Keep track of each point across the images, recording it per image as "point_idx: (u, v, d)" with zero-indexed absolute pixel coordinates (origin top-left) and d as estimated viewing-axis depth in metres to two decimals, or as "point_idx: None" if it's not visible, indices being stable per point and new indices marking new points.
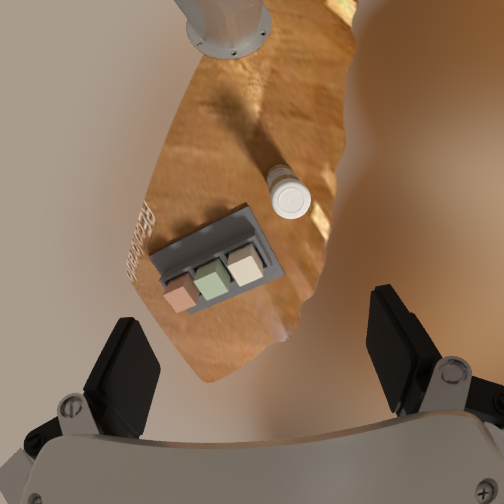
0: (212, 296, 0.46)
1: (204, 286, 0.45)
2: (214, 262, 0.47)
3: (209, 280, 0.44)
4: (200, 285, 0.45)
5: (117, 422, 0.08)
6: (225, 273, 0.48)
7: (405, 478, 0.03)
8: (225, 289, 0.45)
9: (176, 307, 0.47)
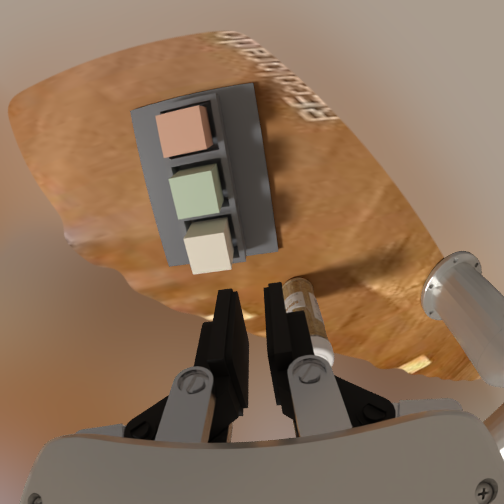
0: (174, 191, 0.26)
1: (196, 185, 0.26)
2: (221, 195, 0.30)
3: (205, 197, 0.26)
4: (199, 179, 0.25)
5: (234, 394, 0.09)
6: None
7: (405, 478, 0.03)
8: (183, 216, 0.27)
9: (166, 119, 0.23)
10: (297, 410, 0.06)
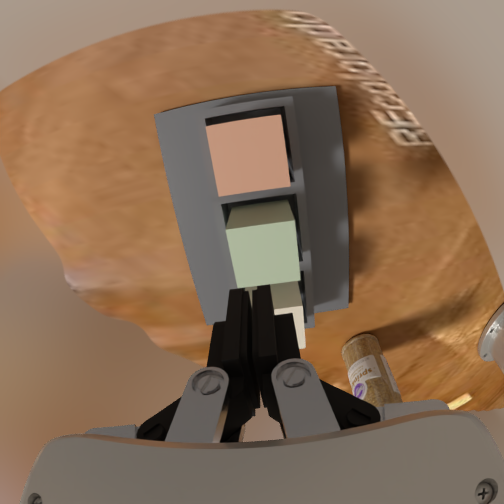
0: (234, 249, 0.17)
1: (270, 240, 0.17)
2: None
3: (283, 259, 0.18)
4: (276, 232, 0.17)
5: (247, 394, 0.08)
6: None
7: (405, 478, 0.03)
8: (245, 284, 0.18)
9: (225, 134, 0.15)
10: (284, 414, 0.06)
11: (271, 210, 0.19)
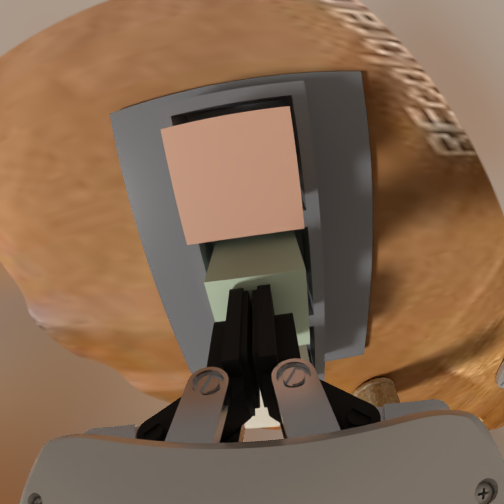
0: (217, 307, 0.12)
1: None
2: None
3: None
4: (278, 285, 0.11)
5: (247, 394, 0.08)
6: None
7: (405, 478, 0.03)
8: None
9: (194, 141, 0.08)
10: (284, 414, 0.06)
11: (270, 247, 0.13)
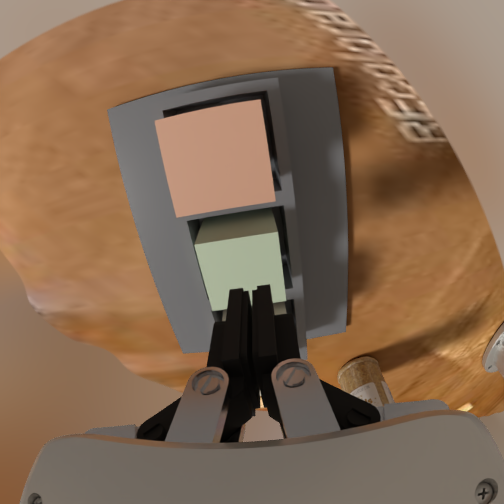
0: (205, 267, 0.14)
1: (248, 256, 0.14)
2: None
3: (264, 277, 0.15)
4: (255, 246, 0.14)
5: (247, 394, 0.08)
6: None
7: (405, 478, 0.03)
8: (221, 306, 0.15)
9: (182, 129, 0.10)
10: (283, 414, 0.06)
11: (250, 218, 0.16)
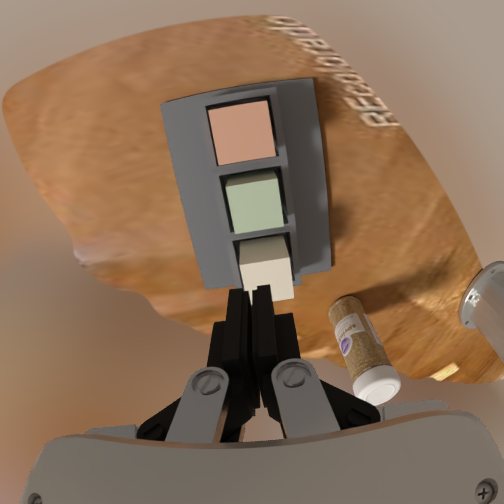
0: (232, 201, 0.23)
1: (259, 194, 0.22)
2: None
3: (269, 209, 0.23)
4: (263, 187, 0.22)
5: (247, 394, 0.08)
6: None
7: (405, 478, 0.03)
8: (241, 230, 0.24)
9: (224, 116, 0.18)
10: (283, 414, 0.06)
11: (259, 174, 0.24)
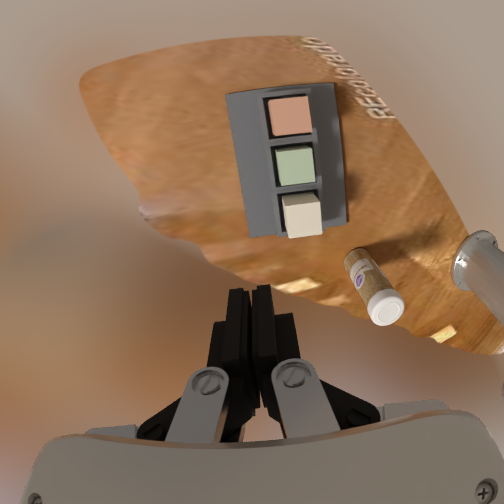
0: (281, 162, 0.32)
1: (299, 158, 0.32)
2: None
3: (306, 169, 0.32)
4: (302, 154, 0.32)
5: (247, 394, 0.08)
6: None
7: (405, 478, 0.03)
8: (286, 183, 0.33)
9: (280, 104, 0.28)
10: (283, 415, 0.06)
11: (297, 147, 0.34)
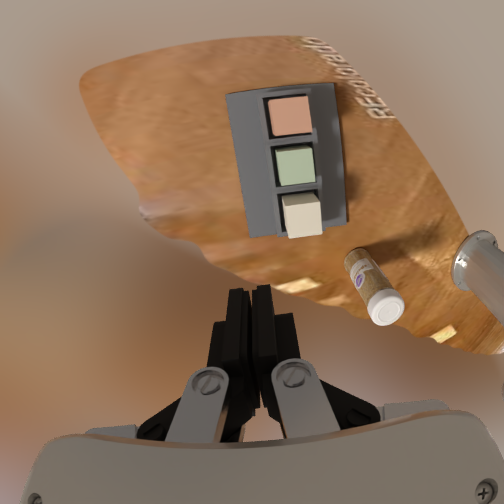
0: (281, 162, 0.32)
1: (299, 158, 0.32)
2: None
3: (306, 169, 0.32)
4: (302, 154, 0.32)
5: (247, 394, 0.08)
6: None
7: (405, 478, 0.03)
8: (286, 183, 0.33)
9: (280, 104, 0.28)
10: (283, 414, 0.06)
11: (297, 147, 0.34)
